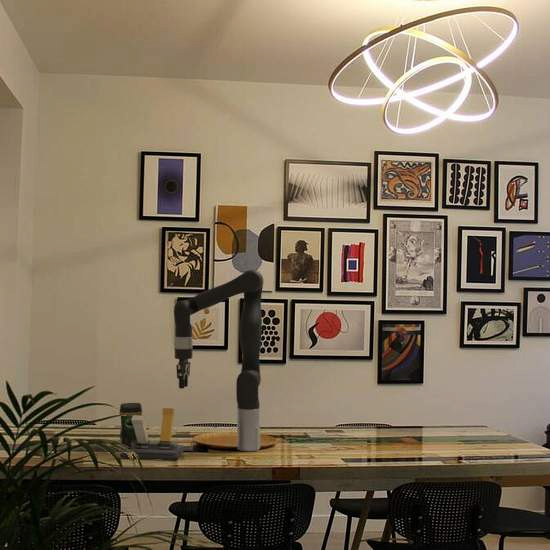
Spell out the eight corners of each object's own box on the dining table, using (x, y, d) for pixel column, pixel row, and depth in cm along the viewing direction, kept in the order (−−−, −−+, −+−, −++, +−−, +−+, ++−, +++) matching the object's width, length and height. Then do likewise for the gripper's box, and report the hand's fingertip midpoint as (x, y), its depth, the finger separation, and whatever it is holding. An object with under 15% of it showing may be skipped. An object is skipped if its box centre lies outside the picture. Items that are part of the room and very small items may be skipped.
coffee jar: (141, 444, 334) (141, 401, 334) (142, 448, 326) (143, 403, 327) (118, 445, 332) (119, 401, 332) (119, 449, 324) (119, 404, 324)
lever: (150, 442, 316) (143, 415, 308) (148, 447, 314) (142, 420, 305) (139, 442, 317) (133, 415, 308) (138, 447, 315) (131, 419, 306)
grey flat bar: (179, 459, 305) (179, 450, 305) (178, 461, 303) (178, 451, 303) (120, 457, 308) (120, 448, 308) (118, 458, 306) (118, 449, 306)
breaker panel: (183, 452, 318) (183, 440, 318) (175, 458, 307) (175, 446, 307) (136, 450, 321) (136, 438, 321) (126, 456, 310) (127, 444, 310)
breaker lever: (171, 447, 314) (174, 409, 319) (169, 446, 311) (173, 408, 317) (160, 447, 315) (164, 409, 320) (158, 446, 312) (162, 408, 318)
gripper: (187, 349, 322) (187, 390, 321) (196, 346, 336) (196, 385, 336) (170, 348, 323) (170, 389, 323) (179, 346, 337) (179, 385, 337)
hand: (183, 387), depth 329 cm, fingers open, 5 cm apart
